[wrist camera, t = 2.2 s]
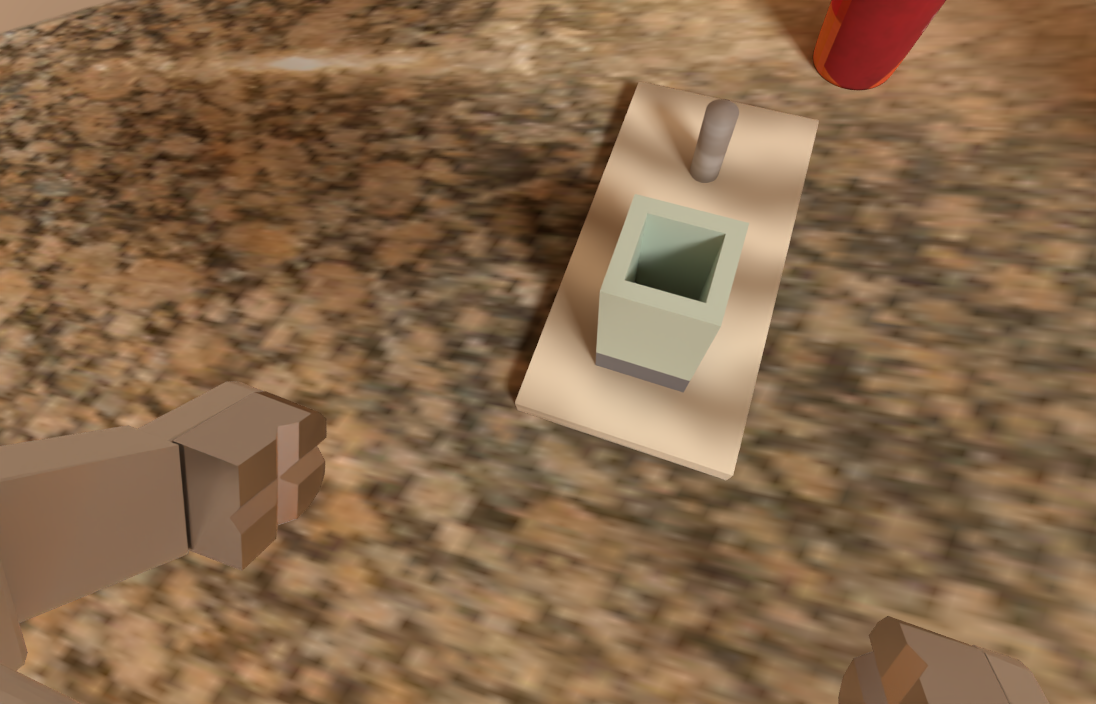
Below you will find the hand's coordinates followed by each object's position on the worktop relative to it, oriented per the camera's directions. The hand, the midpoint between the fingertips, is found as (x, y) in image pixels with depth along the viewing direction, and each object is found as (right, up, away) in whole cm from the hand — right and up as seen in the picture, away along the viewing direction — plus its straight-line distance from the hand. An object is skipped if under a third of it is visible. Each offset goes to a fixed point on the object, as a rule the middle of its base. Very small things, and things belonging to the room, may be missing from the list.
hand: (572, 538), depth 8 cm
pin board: (+8, +8, +27) cm, 29 cm away
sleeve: (+5, +3, +24) cm, 25 cm away
